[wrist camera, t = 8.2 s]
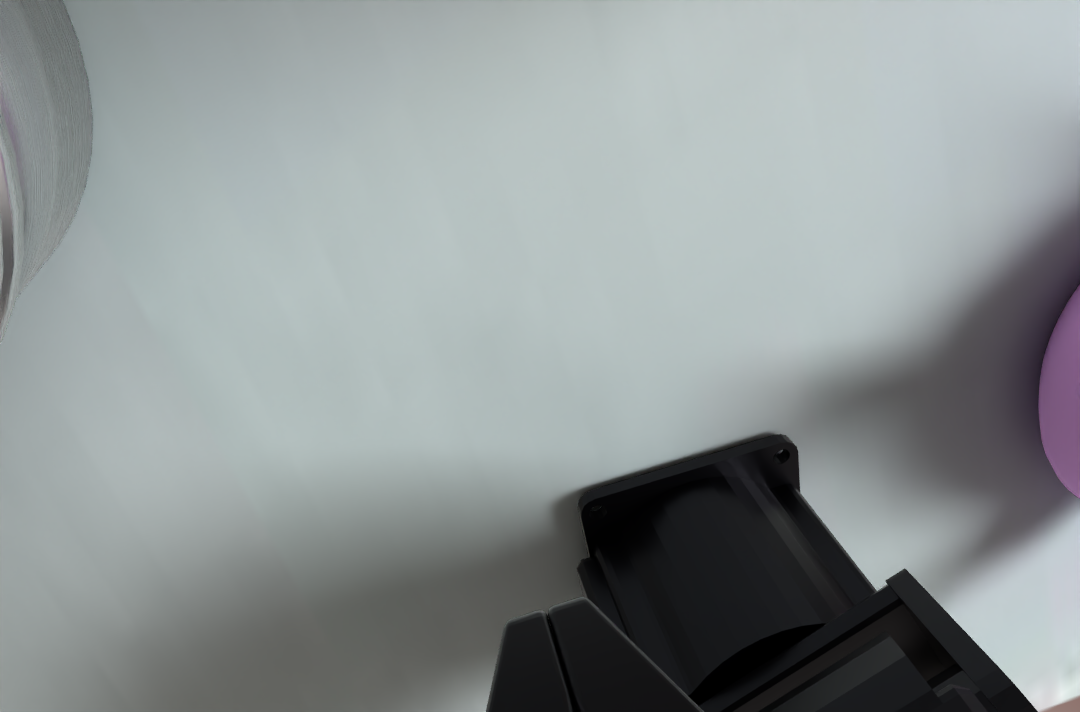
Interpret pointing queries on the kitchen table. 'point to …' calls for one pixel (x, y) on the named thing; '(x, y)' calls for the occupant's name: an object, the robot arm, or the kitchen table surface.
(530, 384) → the kitchen table surface
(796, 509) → the robot arm
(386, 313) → the kitchen table surface
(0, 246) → the lid
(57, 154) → the pot
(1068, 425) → the teapot
